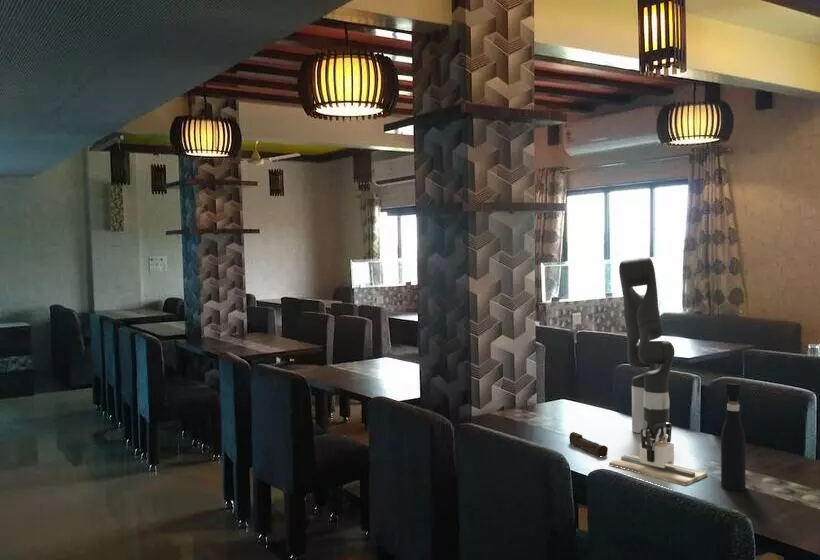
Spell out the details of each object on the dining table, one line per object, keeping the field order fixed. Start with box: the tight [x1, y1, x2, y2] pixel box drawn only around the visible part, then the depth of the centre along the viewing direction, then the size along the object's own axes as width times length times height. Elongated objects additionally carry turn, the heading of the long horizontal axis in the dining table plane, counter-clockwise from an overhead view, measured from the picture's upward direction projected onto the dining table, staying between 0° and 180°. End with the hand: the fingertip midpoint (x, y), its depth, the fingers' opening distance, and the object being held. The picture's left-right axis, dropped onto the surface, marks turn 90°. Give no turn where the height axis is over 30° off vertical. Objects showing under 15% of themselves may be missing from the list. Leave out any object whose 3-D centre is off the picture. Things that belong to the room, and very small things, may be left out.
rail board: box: [608, 454, 708, 486], centre depth 220 cm, size 12×26×2 cm, turn 40°
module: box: [639, 438, 675, 468], centre depth 220 cm, size 6×8×6 cm
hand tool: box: [568, 431, 609, 458], centre depth 244 cm, size 19×4×5 cm, turn 20°
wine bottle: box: [720, 381, 747, 492], centre depth 203 cm, size 6×6×30 cm
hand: (656, 459), depth 220 cm, fingers closed on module, 6 cm apart
